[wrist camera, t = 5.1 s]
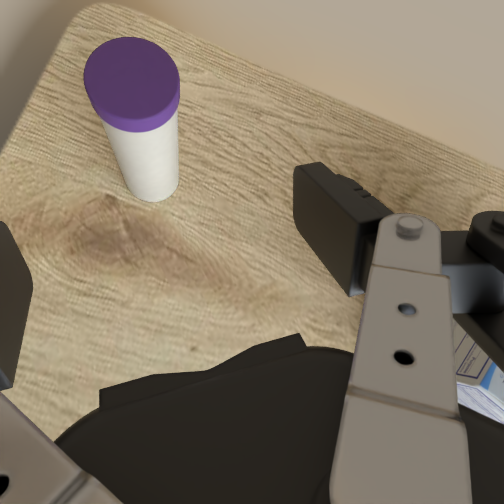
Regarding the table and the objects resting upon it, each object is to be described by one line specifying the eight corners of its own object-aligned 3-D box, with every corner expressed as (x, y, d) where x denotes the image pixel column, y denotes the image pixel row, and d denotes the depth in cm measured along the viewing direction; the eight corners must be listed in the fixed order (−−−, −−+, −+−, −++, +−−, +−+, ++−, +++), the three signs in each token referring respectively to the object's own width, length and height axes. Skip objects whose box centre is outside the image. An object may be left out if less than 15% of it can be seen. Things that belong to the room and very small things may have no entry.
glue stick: (129, 209, 24) (93, 127, 14) (118, 156, 24) (74, 41, 14) (186, 198, 24) (188, 112, 15) (173, 146, 25) (168, 31, 15)
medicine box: (430, 411, 24) (561, 456, 16) (375, 365, 24) (477, 386, 16) (490, 311, 26) (634, 304, 18) (439, 268, 26) (560, 241, 18)
